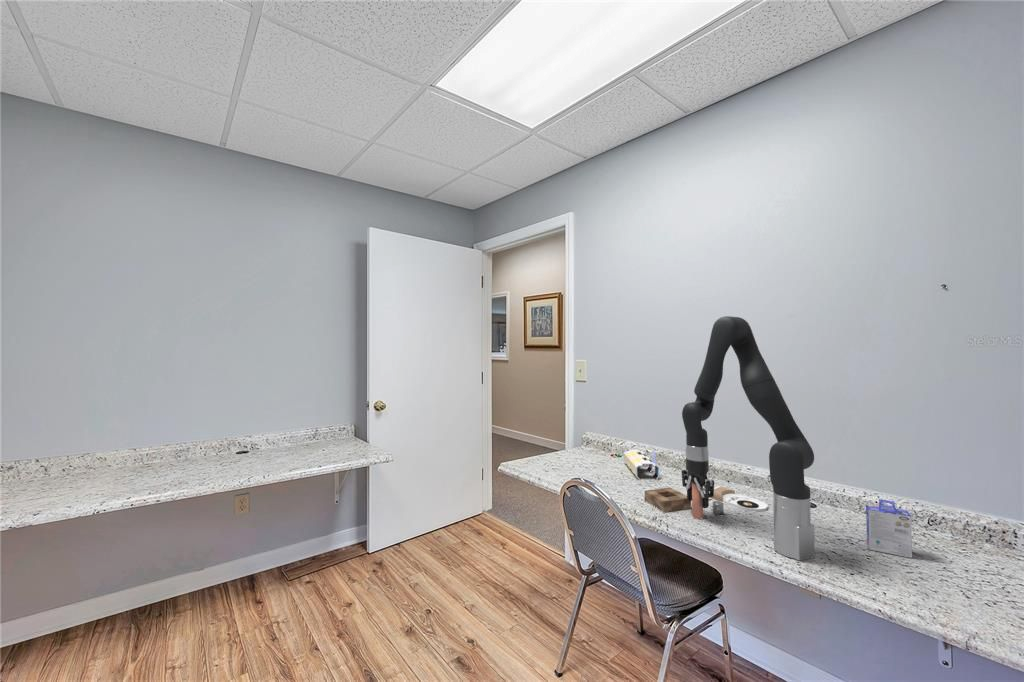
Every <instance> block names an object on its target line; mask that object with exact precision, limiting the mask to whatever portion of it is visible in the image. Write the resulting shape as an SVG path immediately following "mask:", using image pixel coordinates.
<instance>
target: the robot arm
mask: <svg viewBox="0 0 1024 682" xmlns="http://www.w3.org/2000/svg"><path fill="white" fill-rule="evenodd" d="M711 328H712V329H711V333H710V337H709V343H708V347H707V352H706V354H705V358H704V362H703V366H702V368H701V372H700V374H699V377H698V379H697V381H696V383H695V387H694V390H693V392H694V394H695V395H696V398H695V401H692V402H688V403H685V404H684V406H683V408H682V412H681V417H682V422H683V426H684V429H685V432H686V434H685V435H686V436H685V438H686V439H685V440H686V441H685V443H686V444H685V445H686V446H685V469H683V470H681V482H682V484H681V486H682V487H684V488H685V489H686V496H687V499H688V500H689V501H691V502H692V483H694V484H696V485H697V487H698V490H699V491H700V493H701V495H702V508H703V509H707V508H709V506H710V505H709V503H710V500H709V499H710V498H709V497H713V496H714V488H715V481H714V479H709V477H708V475H707V474H708V473H709V471H710V470H709V469H710V468H709V467H710V463H709V462H710V461H709V458H710V457H709V447H708V432H707V430H706V429H704V428H703V425H702V422H703V421H706V420H708V419H709V418H710V417H711V415H712V412H713V409H714V404H715V399H716V395H717V393H718V390H719V388H720V386H721V382H722V380H723V376H724V375H723V374H724V362H725V357H726V354H727V353H728V350H729V349H730V347H731V348H732V350H733V351H734V353H735V355H736V357H737V360H738V364H739V376H740V377H739V378H740V384H741V387H742V389H743V392H744V394H745V395H746V398H747V400H748V401H749V403H750V405H751V406H752V408H753V409H754V410H755V411H756V412H757V413H758V414H759V415H760V416H761V418H762V419H763V420H765V421H766V422H767V424H768V425H769V427H770V428H771V429H772V432H773V433H774V434H773V435H774V436H775V438H776V440H777V442H775V443H774V444H773V445H771V447H770V450H769V453H768V463H769V479H770V483H771V485H772V491H773V494H772V497H773V499H772V500H773V501H772V504H773V508H772V509H773V549H774V550H775V552H777V553H779V554H780V555H782V556H785V557H788V558H792V559H795V560H797V561H802V560H803V561H804V560H808V559H813V558H815V525H814V524H813V523H812V522H811V520H812V518H811V517H812V516H811V489H810V486H809V485H807V484H806V483H805V482H806V481H805V470H807V469H809V468H811V466H812V465H813V464H814V461H815V454H814V451H813V449H812V447H811V445H810V443H809V442H808V440H807V439H806V437H805V435H804V433H803V432H802V430H801V429H800V427H799V426H798V424H797V422H796V421H795V419H794V418H793V415H792V412H791V411H790V409H789V406H788V404H787V403H786V401H785V399H784V397H783V394H782V392H781V390H780V388H779V387H778V384H777V382H776V380H775V378H774V377H773V375H772V373H771V371H770V369H769V366H768V365H767V363H766V361H765V359H764V357H763V356H762V354H761V351H760V349H759V347H758V343H757V342H756V339H755V336H754V332H753V330H752V328H751V325H750V324H749V322H748V321H747V320H746V319H744V318H742V317H738V316H730V315H728V316H727V315H726V316H725V315H724V316H721V317H719V318H718V319H716V321H714V323H713V326H712V327H711ZM701 487H703V488H701ZM709 491H710V493H709Z"/></svg>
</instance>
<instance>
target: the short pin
mask: <svg viewBox="0 0 1024 682" xmlns="http://www.w3.org/2000/svg"><path fill="white" fill-rule="evenodd" d="M724 505H725V503H724V502H722V501H718V500H715V501H714V500H713V501H712V514H713V515H714V514H715V515H714V516H717V515H723V516H725V513H724V512H725V511H724V510H725V509H724Z"/></svg>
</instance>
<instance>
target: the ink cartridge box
mask: <svg viewBox="0 0 1024 682" xmlns="http://www.w3.org/2000/svg"><path fill="white" fill-rule="evenodd" d="M884 503H885V504H884ZM886 503H887V505H886ZM888 504H890V505H888ZM865 514H866V515H865V516H866V518H865V520H866V546H867V549H868V550H870V551H876V552H880V553H885V554H888V555H889V554H890V555H895V556H900V557H906V558H910V559H912V557H913V547H912V546H913V544H912V543H913V541H912V540H913V539H912V532H913V530H912V527H913V526H912V524H913V523H912V515H911V514H910V513H909V511H908V510H905V509H899V508H896V503H895V501H894V500H893V501H892V500H887V499H880V498H879V499H878V506H877V505H869V504H865Z"/></svg>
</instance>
